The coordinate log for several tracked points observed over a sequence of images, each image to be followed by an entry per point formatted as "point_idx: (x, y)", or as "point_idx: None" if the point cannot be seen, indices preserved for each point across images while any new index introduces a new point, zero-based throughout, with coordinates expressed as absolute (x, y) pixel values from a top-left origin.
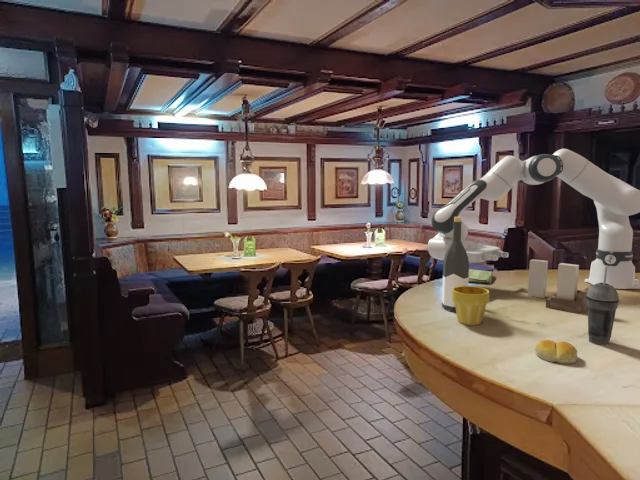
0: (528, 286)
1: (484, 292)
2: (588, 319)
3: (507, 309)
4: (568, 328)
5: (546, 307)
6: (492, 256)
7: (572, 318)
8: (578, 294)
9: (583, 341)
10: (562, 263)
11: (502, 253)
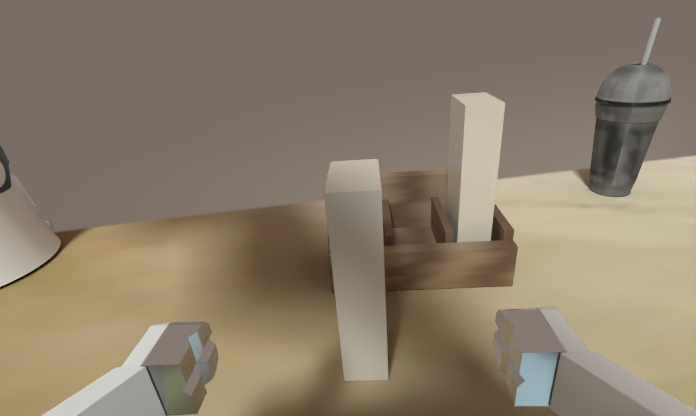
0: (385, 326)
1: None
2: (644, 151)
3: (653, 378)
4: (595, 224)
5: (513, 270)
6: (582, 352)
7: None
8: None
9: (641, 198)
10: (471, 104)
11: (185, 373)
